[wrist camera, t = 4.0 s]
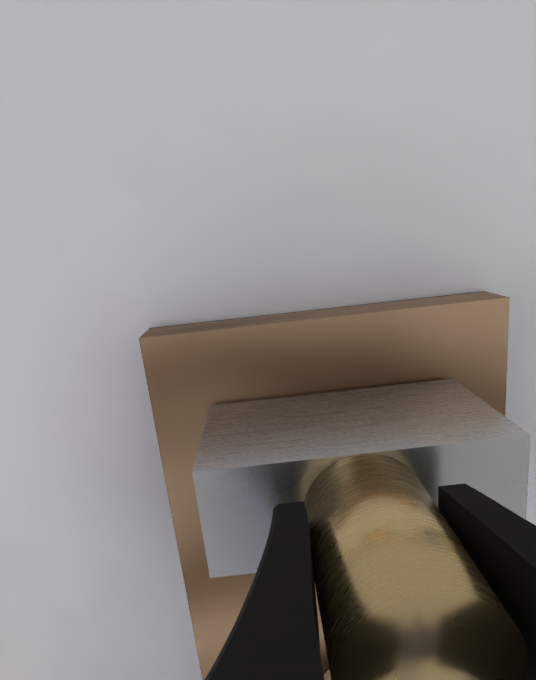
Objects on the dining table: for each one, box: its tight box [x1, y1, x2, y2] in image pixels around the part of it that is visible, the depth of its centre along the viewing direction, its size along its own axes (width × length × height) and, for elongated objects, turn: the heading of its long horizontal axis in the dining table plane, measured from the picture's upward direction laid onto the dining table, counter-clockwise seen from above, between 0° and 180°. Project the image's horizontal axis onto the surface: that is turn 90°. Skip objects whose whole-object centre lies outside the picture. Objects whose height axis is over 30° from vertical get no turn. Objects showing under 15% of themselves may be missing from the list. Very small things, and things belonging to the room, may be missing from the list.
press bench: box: [139, 291, 509, 680], centre depth 14 cm, size 20×12×6 cm, turn 6°
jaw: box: [192, 379, 530, 680], centre depth 10 cm, size 3×8×8 cm, turn 96°
